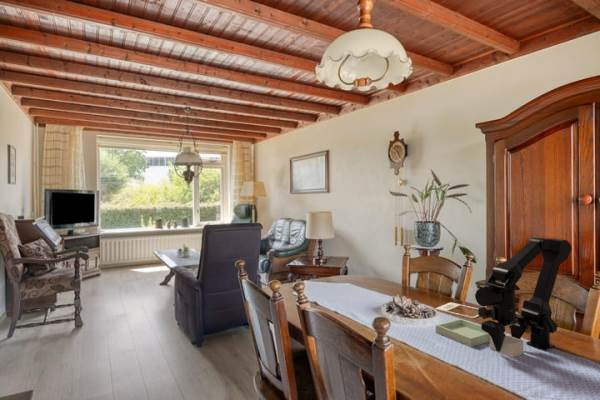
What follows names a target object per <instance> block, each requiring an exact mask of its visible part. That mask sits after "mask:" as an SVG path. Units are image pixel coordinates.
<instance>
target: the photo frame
mask: <svg viewBox="0 0 600 400" xmlns="http://www.w3.org/2000/svg"><path fill="white" fill-rule="evenodd" d="M459 307H463V308H469V309H473V310H477V311H478V310H479V308H480V307H473V306H469V305H465V304H460V303H456V302H451V301H450V302H448V303H445V304H443V305H440V306H437V307H436V308H434V310H437V311H441V312H445V313H449V314H453V315H457V316H461V317H464V318H469V319H473V320H474V319H476V318H478V317H480V316H479V315H478V314H477V315H474V316H470V315H466V314H462V313H457V312H453V311H452V310H454V309H457V308H459Z"/></svg>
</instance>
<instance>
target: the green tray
mask: <svg viewBox="0 0 600 400" xmlns="http://www.w3.org/2000/svg"><path fill="white" fill-rule="evenodd" d="M435 334H438V335H441V336H443V337H446V338H449V339H451V340H453V341H455V342H457V341H458V343H460V344H462V343H463V345H466V346H467V345H468V347H470V348H472V347H477V346H480V345H481V344H485V343H487V342H488V343H490V335H489V334H488V333H487V332H485V331H484V330H482V329H481V324H477V323H474V322H471V321H468V320H466V319H462V318H459V319H458V318H457V319H454V320H449V321H447V322H446V321H445V322H442V323H438V324H435Z"/></svg>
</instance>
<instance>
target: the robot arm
mask: <svg viewBox="0 0 600 400" xmlns="http://www.w3.org/2000/svg"><path fill="white" fill-rule="evenodd" d="M572 249H573V248H572V245H571V243H570V242H569V240H567V239H561V238H560V239H559V238H549V237H548V238H547V237H546V238H545V237H536V236H534V237H531V238H529V241H528V242H527V243H526V244H524V246H523V247H522V248H520V249H519V250H518V251H517V252H516V253H515V254H514V255H513V256H512V257H511V258H510V259H508V260H506V261H502V262H500V263H498V264H496V266H494V267H493V268H492V270H491V273H490V275H489V277H488V278H487V279H486V282H485V285H483V284H481V285H479V288H478V289H476V291H475V294H474V298H475V301H476V303H477V304H478V305H479V306H481V307H478V308H479V310H477V315H479V316H478V317H480V318H481V319H482V320H485V321H483V322H482V323H481V324H480V325H481V329H482V330H484V331H485V332H487V333H488V334H489V335H490V336H491V338H492V340H493V343H494V346H495V348H496V351H495V352H497V351H498V352H497V353H499V352H500V350H501V348H502V345H503V341H504V338H505V335H507V334H506V333H505V332H506V328H508V327H509V328H510V329H509V330H510V336H511V337H514V338H517V339H520V340H522V339H521V338H522V336H523V335H524V334H525V332H526V330H527V329H528V328H530V340H529V341H526V342H525V343H526V345H529V346H531V347H535V348H537V349H541V350H543V351H547V350H549V349H552V348H555V347H556V345H555V344H553V343H551V334H554V333H555V332H557V330H558V324H557V323H556V322H555V321H554V319H552V309H551V306H550V300H551V296H552V293H553V291H554V286H555V284H556V279H557V276H558V273H559V269H560V266H561V264H563V263H564V262H565V261H567V260H568V258H569V256H570V254H571V252H572ZM539 255H541V257H542V260H543V262H542V263H541V264H542V265H541V268H540V271H539V274H538V278H537V280H536V285H535V288H534V291H533V294H532V297H531V298H530V299H525V300H523V303H522V307H521V309H520V311H521V314H520V315H519V314H516V313H515V312H518V311H519V307H518V306H516V291H520V290H521V287H520V286H518V285H517V283H518V281H520V279H521V278H522V276H523V270H524V269H525V268H526V267H527V266H528V265H530V264H531V263H532V261H534V260H535V259H536V258H537V257H538V256H539ZM490 306H492V307H490ZM486 319H489V320H486Z"/></svg>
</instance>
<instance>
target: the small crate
mask: <svg viewBox="0 0 600 400" xmlns="http://www.w3.org/2000/svg"><path fill="white" fill-rule="evenodd" d="M524 347H525V346H524V340H522V339H517V338H514V337H511V335H508V334H506V335H505V338H504V341H503V345H502V348H501V350H500V352H498V351H496V348H495V346H494V343H493V340H492V338H491V336H490V341H489V349H490V350H492V351H493V352H497V353H498V354H502V355H505V356H507V357H510V358H512V359H514V358H517V357H519V356H521V355H524Z"/></svg>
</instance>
